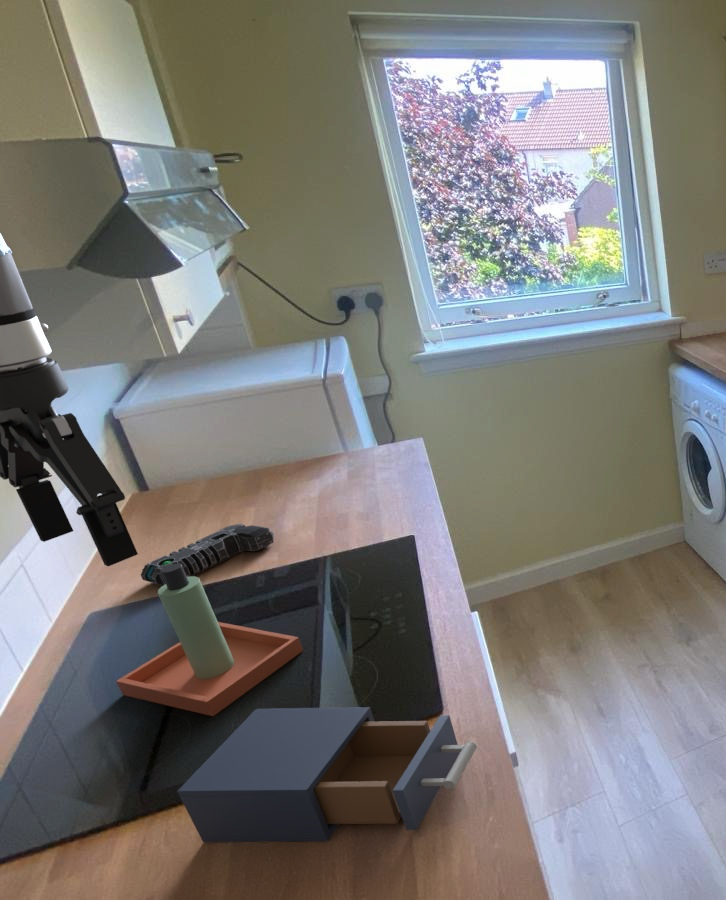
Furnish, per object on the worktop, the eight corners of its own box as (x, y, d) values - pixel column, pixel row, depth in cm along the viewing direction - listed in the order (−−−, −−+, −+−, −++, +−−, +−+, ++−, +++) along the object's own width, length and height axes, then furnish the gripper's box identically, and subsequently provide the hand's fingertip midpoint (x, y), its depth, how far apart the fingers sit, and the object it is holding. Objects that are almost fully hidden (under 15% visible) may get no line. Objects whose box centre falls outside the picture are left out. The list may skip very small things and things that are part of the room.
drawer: (491, 752, 94) (481, 714, 91) (452, 830, 83) (439, 790, 81) (356, 753, 94) (343, 716, 92) (300, 831, 84) (283, 791, 81)
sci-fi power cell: (273, 525, 145) (240, 517, 148) (166, 576, 129) (132, 566, 132) (280, 543, 146) (247, 535, 150) (175, 596, 130) (142, 585, 134)
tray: (122, 695, 107) (115, 681, 106) (219, 634, 120) (213, 620, 119) (213, 716, 102) (206, 702, 101) (303, 650, 115) (298, 637, 114)
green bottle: (188, 674, 110) (142, 572, 103) (223, 654, 114) (180, 556, 107) (206, 683, 108) (160, 580, 101) (241, 663, 112) (199, 563, 105)
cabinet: (386, 755, 95) (370, 707, 92) (327, 841, 84) (306, 789, 80) (276, 756, 95) (255, 708, 92) (202, 842, 84) (176, 791, 81)
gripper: (115, 366, 72) (190, 553, 80) (-6, 344, 82) (72, 513, 90) (16, 389, 66) (108, 589, 74) (-103, 362, 75) (-10, 541, 84)
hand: (88, 547), depth 82 cm, fingers open, 13 cm apart
